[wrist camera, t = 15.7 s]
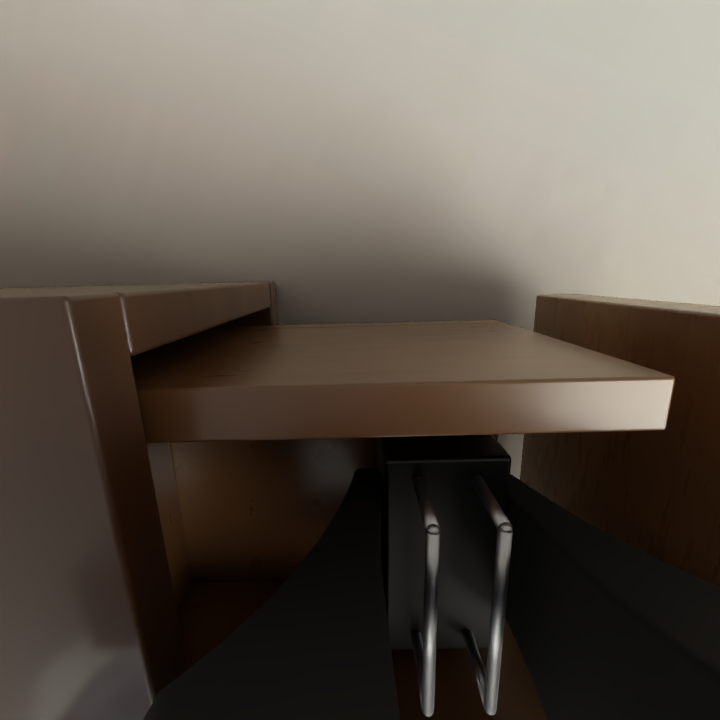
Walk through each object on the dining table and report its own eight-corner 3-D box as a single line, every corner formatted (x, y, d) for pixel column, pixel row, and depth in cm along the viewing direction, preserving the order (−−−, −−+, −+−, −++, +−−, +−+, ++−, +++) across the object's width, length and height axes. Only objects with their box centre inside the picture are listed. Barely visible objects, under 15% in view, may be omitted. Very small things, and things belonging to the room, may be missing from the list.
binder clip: (461, 397, 11) (554, 505, 6) (455, 537, 12) (527, 732, 7) (375, 399, 11) (390, 509, 6) (377, 539, 12) (392, 735, 7)
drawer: (731, 289, 11) (1303, 311, 4) (667, 578, 13) (966, 868, 7) (143, 304, 11) (-187, 348, 4) (190, 589, 13) (30, 890, 7)
